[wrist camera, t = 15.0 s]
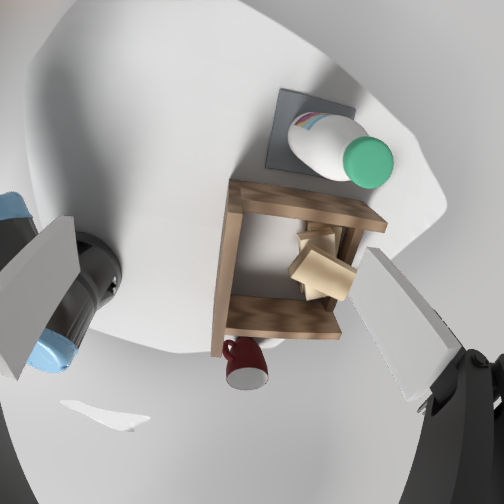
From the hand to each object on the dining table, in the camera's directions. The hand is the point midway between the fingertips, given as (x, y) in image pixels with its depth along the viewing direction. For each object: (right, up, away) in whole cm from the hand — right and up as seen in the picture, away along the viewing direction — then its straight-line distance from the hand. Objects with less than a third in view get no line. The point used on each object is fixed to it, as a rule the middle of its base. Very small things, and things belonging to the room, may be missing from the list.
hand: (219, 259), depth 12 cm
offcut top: (+13, -3, +34) cm, 37 cm away
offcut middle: (+12, -1, +36) cm, 38 cm away
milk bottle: (+10, +17, +27) cm, 34 cm away
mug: (-1, -18, +47) cm, 51 cm away
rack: (+8, 0, +37) cm, 38 cm away
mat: (+10, +18, +28) cm, 34 cm away
